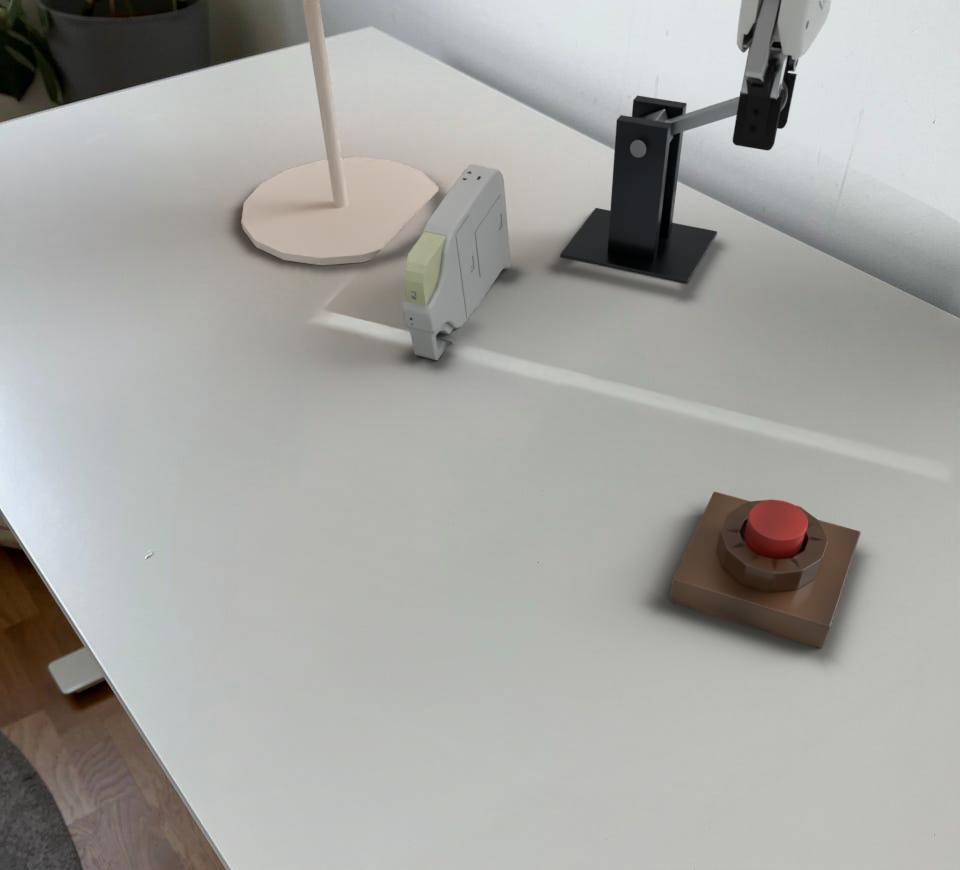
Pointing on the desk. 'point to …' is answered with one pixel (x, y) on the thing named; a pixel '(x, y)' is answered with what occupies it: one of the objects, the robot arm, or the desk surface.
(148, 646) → the desk surface
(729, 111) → the tap lever
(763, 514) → the button
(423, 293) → the grey clip-foot housing
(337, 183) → the desk lamp
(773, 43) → the robot arm
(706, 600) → the button block
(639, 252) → the lever bracket
